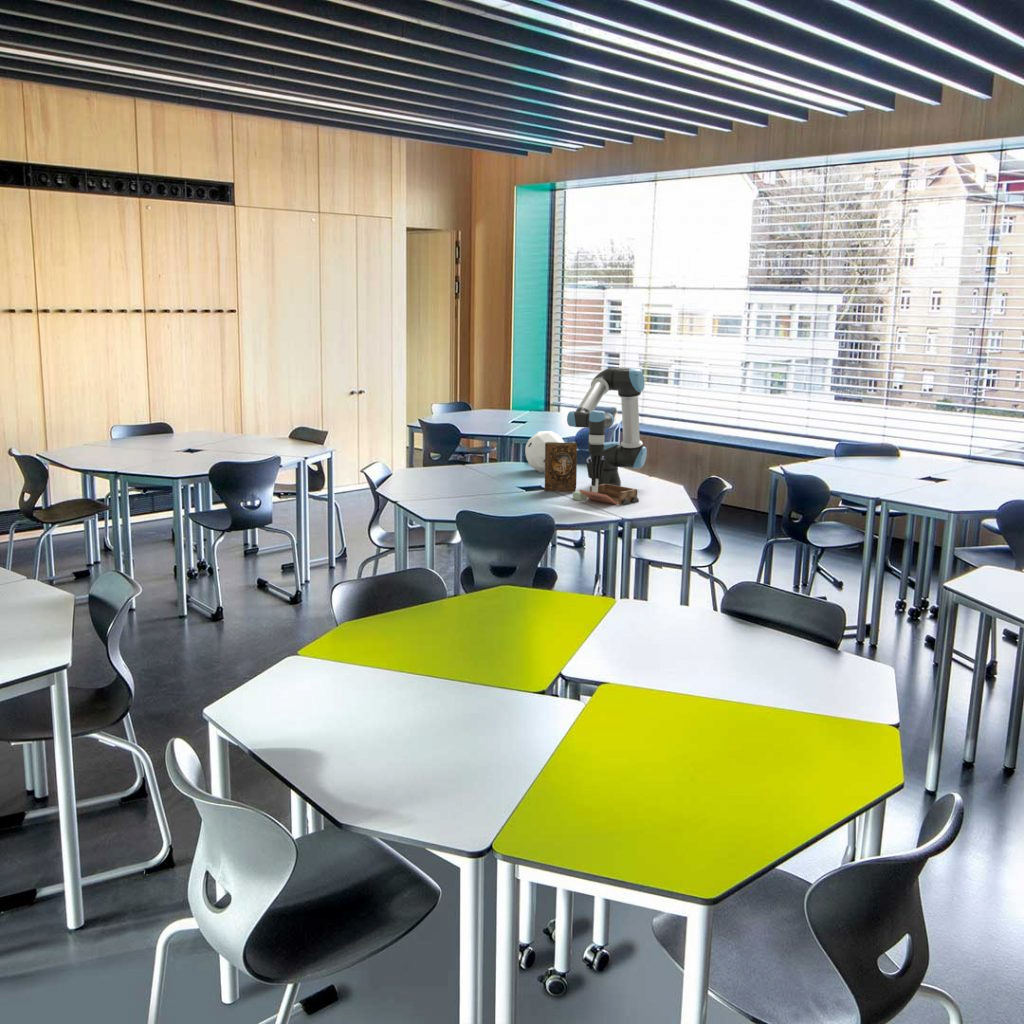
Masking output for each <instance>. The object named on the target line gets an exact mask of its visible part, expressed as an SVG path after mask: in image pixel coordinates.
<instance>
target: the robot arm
mask: <svg viewBox="0 0 1024 1024" xmlns="http://www.w3.org/2000/svg"><path fill="white" fill-rule="evenodd" d="M644 389H645V376H644V373H643V371H642V370H641V369H639V368H634V367H609V368H606V369H604V370H602V371H600V372H599V373H597V374H596V375H595V377H594V378H593V379H592V381H591V383H590V387H589V390H588V391H587V393H586V394H585V396H583V399H582V401H581V402H580V403H579V405H578V407H577V409H575V411H574V410H573V411H572V410H571V411H569V412H568V413H567V417H566V421H567V425H568V426H569V427H574V428H586V429H587V428H588V447H587V449H588V450H587V452H589V455H588V457H587V458H585V461H584V462H585V463H586V468H587V469H586V470H587V476H588V478H589V479H591V483H590V484H591V486H592V492H595V493H597V492H598V485H601V484H611V485H616V486H621V485H622V480H621V477H620V474H619V468H626V469H627V468H628V469H642V468H643V467H644V465H645V463H646V460H647V455H648V449H647V447H646V446H644V443H643V441H642V440H641V439H640V437H641V436H640V416H639V414H640V410H639V396H641V394H642V392H643V391H644ZM610 391H617V394H618V397H620V399H621V402H620V403H621V420H622V422H621V423H622V441H621V442H618V441H607V442H606V441H605V437H606V436H605V435H606V434H605V433H606V430H607V429H610V428H611V427H612V426H613V425H614V423H615V417H614V416H613V414H612V413H611V412H605V411H604V410H595V409H597V406H598V404H599V402H601V400H602V398H603V396H604V395H605V394H607V393H608V392H610Z"/></svg>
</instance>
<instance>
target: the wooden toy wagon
mask: <svg viewBox="0 0 1024 1024" xmlns="http://www.w3.org/2000/svg"><path fill="white" fill-rule="evenodd" d="M589 492H592V485H591V486H589ZM594 493H595V492H594ZM597 493H600V494H605V495H608V496H609V497H610V498H612V499H613V500H614V501H616V502H617V503H618V504H617V505H621V506H622V505H623V506H627V505H630V504H636V503H639V501H640V500H639V498H638V489H637V488H633V487H632V488H631V487H626V486H616V485H611V484H601V485H598V492H597Z"/></svg>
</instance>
